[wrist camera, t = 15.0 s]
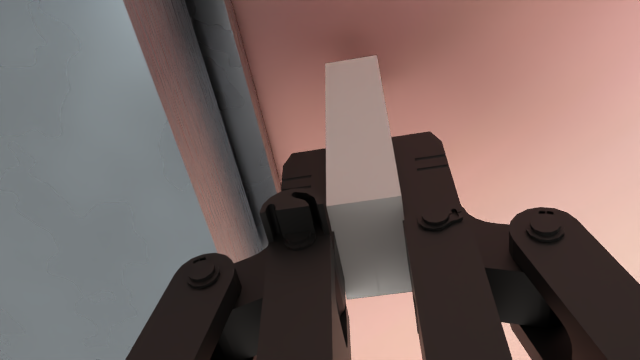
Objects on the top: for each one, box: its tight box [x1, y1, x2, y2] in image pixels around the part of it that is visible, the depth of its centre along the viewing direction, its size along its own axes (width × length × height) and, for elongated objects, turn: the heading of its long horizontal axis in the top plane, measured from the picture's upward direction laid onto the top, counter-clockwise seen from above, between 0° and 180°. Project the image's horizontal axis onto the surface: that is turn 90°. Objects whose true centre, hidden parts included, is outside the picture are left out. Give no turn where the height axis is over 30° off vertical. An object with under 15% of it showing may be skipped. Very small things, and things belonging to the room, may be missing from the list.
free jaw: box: [0, 0, 263, 360], centre depth 18 cm, size 14×10×4 cm
